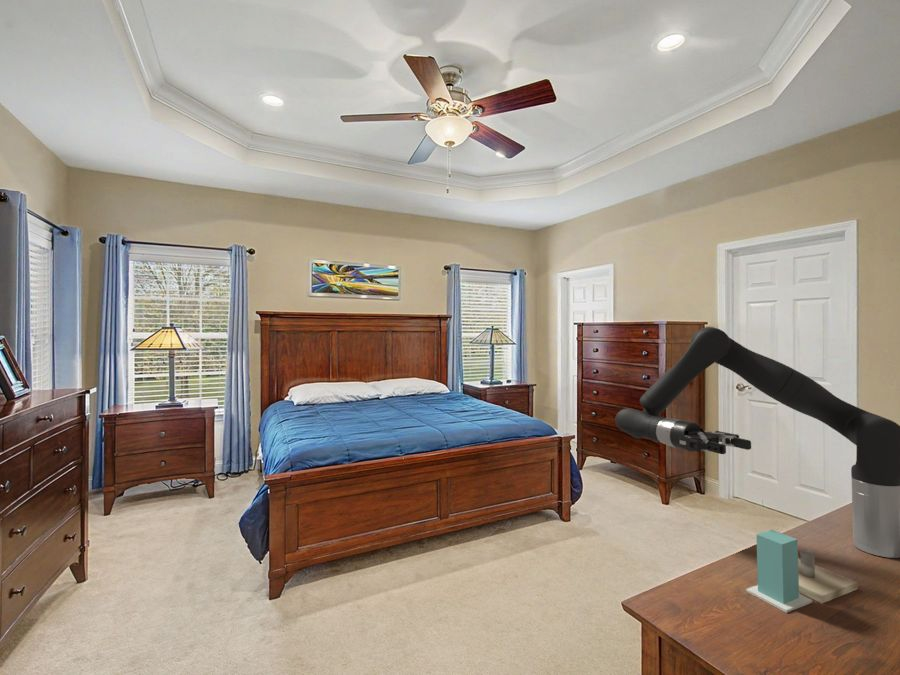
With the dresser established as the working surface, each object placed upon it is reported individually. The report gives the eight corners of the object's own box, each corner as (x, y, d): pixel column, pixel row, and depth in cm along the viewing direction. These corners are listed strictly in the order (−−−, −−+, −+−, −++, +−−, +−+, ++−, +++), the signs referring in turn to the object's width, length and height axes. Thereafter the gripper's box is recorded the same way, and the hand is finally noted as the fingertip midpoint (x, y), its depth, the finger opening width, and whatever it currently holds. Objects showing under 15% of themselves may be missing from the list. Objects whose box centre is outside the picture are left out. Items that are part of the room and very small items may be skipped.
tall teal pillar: (773, 585, 96) (771, 529, 96) (799, 597, 91) (797, 539, 91) (757, 591, 94) (756, 534, 94) (783, 604, 89) (781, 544, 89)
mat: (770, 582, 98) (770, 580, 98) (812, 602, 90) (811, 600, 90) (745, 591, 95) (745, 589, 95) (786, 612, 87) (786, 610, 87)
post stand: (795, 562, 105) (795, 535, 105) (857, 589, 94) (856, 558, 94) (761, 574, 101) (760, 545, 101) (822, 603, 90) (821, 571, 90)
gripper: (658, 422, 117) (715, 434, 102) (698, 417, 122) (758, 428, 107) (659, 451, 117) (716, 467, 102) (698, 444, 122) (758, 459, 107)
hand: (737, 447), depth 104 cm, fingers open, 8 cm apart
